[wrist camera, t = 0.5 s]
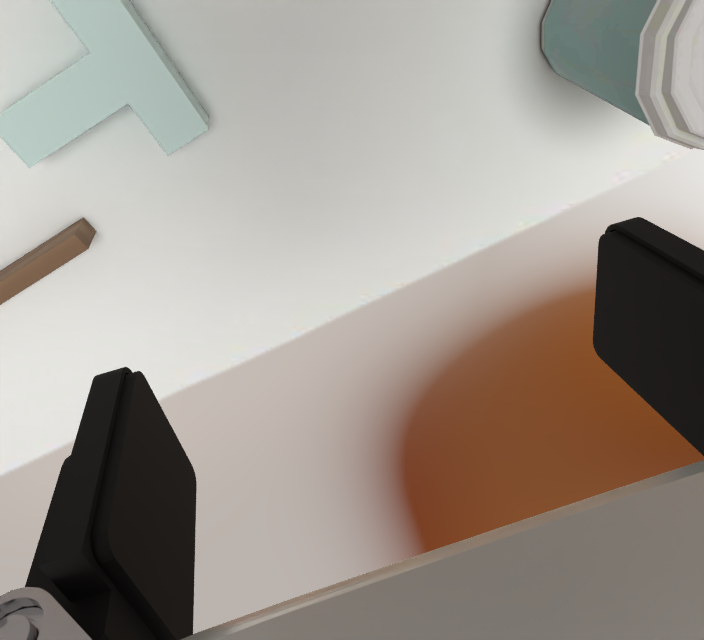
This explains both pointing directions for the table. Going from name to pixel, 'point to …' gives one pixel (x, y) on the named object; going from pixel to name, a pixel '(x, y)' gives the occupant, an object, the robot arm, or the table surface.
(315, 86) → the table surface
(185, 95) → the tee block
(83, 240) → the corral
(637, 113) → the disposable coffee cup
